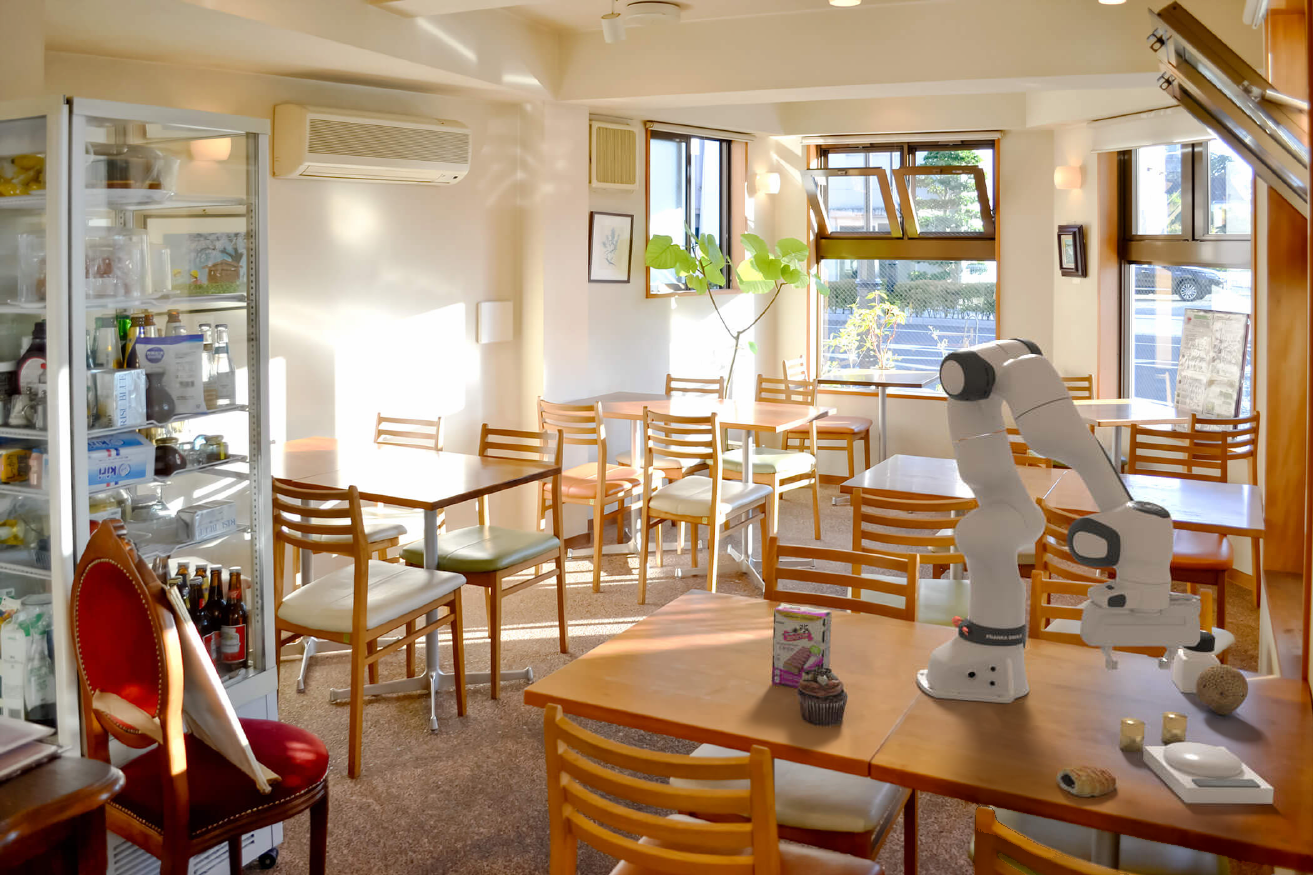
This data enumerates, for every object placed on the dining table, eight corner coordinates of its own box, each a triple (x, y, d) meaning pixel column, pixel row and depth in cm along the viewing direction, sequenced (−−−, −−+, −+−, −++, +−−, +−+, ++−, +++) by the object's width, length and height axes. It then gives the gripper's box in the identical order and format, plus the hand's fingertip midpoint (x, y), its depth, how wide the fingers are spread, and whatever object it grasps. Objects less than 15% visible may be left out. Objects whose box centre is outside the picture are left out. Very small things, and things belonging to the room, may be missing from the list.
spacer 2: (1167, 746, 200) (1169, 720, 200) (1157, 737, 204) (1159, 711, 204) (1189, 746, 200) (1191, 720, 200) (1178, 737, 204) (1180, 711, 204)
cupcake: (835, 731, 206) (837, 680, 204) (788, 720, 211) (789, 670, 209) (855, 714, 214) (856, 665, 212) (809, 704, 219) (810, 656, 217)
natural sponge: (1222, 726, 209) (1226, 676, 208) (1183, 709, 217) (1186, 661, 216) (1255, 719, 213) (1260, 669, 211) (1216, 702, 221) (1220, 655, 220)
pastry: (1098, 776, 188) (1100, 755, 188) (1126, 794, 182) (1128, 772, 182) (1052, 783, 186) (1053, 762, 185) (1078, 801, 179) (1080, 779, 179)
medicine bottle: (1218, 695, 225) (1223, 639, 223) (1180, 692, 226) (1185, 636, 224) (1208, 683, 232) (1212, 628, 230) (1172, 680, 233) (1176, 625, 231)
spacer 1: (1124, 752, 197) (1126, 726, 197) (1115, 743, 201) (1117, 717, 201) (1146, 753, 197) (1148, 726, 197) (1137, 743, 201) (1139, 717, 201)
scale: (1185, 802, 179) (1187, 781, 178) (1142, 760, 194) (1144, 740, 194) (1272, 803, 179) (1274, 782, 178) (1222, 760, 194) (1224, 741, 194)
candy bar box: (770, 684, 229) (772, 608, 227) (778, 677, 234) (780, 602, 231) (823, 693, 224) (825, 616, 222) (829, 685, 229) (832, 609, 227)
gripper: (1192, 588, 198) (1187, 662, 200) (1079, 588, 198) (1074, 662, 200) (1210, 598, 192) (1204, 674, 194) (1092, 598, 192) (1088, 674, 194)
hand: (1137, 668), depth 197 cm, fingers open, 8 cm apart
